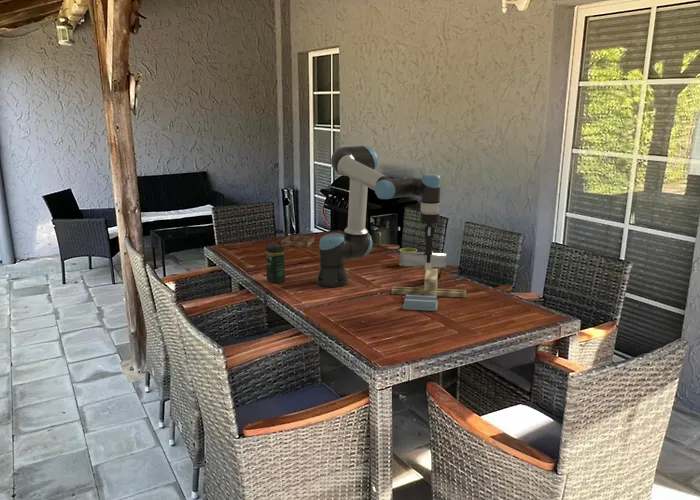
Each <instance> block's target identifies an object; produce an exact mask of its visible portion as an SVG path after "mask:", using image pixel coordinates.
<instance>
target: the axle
mask: <svg viewBox="0 0 700 500" xmlns="http://www.w3.org/2000/svg"><path fill="white" fill-rule="evenodd" d="M425 252H426V251H424V252H423V251H416V252H400V251H399V257H398V258H399V261H398V262H399V264H398V265H399V266H400V267H405V266H409V267H415V268H419V267H421V268H423V267H424V268H425V255H424V253H425ZM432 267H440V268H442V269H444V268H447V252H433V253H432Z"/></svg>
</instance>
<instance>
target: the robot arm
mask: <svg viewBox="0 0 700 500" xmlns="http://www.w3.org/2000/svg"><path fill="white" fill-rule="evenodd" d="M378 160H379V158H378V155H377V153H376V151H375V150H374V148H373V147H371V146H368V145H355V146H354V145H353V146H342V147H339V148H337V149H336V150H335V151H334V152H333V153H332V155H331V158H330V163H331V167H332V169H333V171H335V172H336V173H337V174H339V175H340V176H343V177H344V176H345V177H346V176H347V177H348V178H349V193H348V194H349V195H348V210H347V211H348V212H347V213H348V214H347V215H348V216H347V226H346V227H345V228H344V230H343V233H341V232H340V233H339V232H335V233H328V234H325V235H323V236H322V237H320V239H319V270H318V273H317V277H316V284H317V285H318V286H320V287H323V288H324V287H325V288H337V287H338V288H339V287H344V286H346V285H348V284H349V277H348V273H347V270H346V268H345V260H350V259H356V258H357V259H358V258H362V257H365V256H367V255H368V254H370V253H371V251H372V248H373V239H372V236H371V235H370V233H369V230H368V229H367V228H366V221H367V205H368V203H367V202H368V192H369V191H368V188H369V189H370V190H373V191H374V193H375V195H376V197H377V198H378V199H380V200H390V199H396V198H397V199H398V198H406V197H407V198H408V197H419V198H420V199H421V200H420V212H421V213H420V222H421V223H423V224H426V225H425V226H424V238H425V251H424V252H425V253H424V255H425V267H424V271H426V270H432V253H434V251H435V248H434V247H433V246H434V245H433V240H434V236H435V229H436V227H435V226H434V224H438V223H440V208H442V205H441V203H440V202H441V186H442V184H441V176H440V174H437V173H436V174H433V173H425V174H424V173H423V174H422V175H421V177H420V178H419V177H414V176H404V177H402V178H390V177H389V176H386V175H385V174H383V173H381V172H379V171H377V170H376V169H377V167H378V163H379V162H378Z"/></svg>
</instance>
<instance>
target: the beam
mask: <svg viewBox="0 0 700 500" xmlns="http://www.w3.org/2000/svg"><path fill="white" fill-rule="evenodd" d="M437 279H438V269H434V268H432V270H425V276H424V286H423V287H408V286H392V288H391V294H393V295H406V294H407V295H426V296H437V297H448V298H449V297H450V298H467V290H466V289H451V288H449V289H448V288H438V281H437Z"/></svg>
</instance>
